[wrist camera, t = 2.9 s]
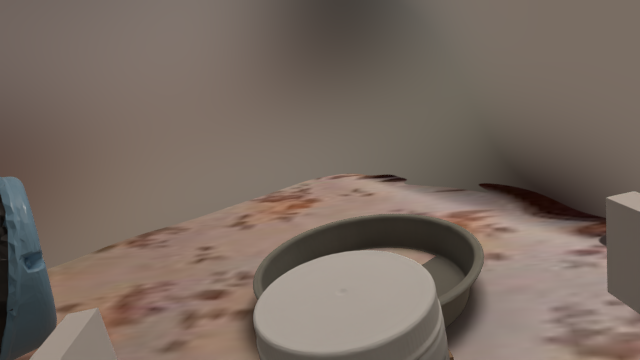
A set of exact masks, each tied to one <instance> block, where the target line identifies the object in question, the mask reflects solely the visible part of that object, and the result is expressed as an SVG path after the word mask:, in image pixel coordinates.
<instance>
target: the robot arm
mask: <svg viewBox="0 0 640 360" xmlns="http://www.w3.org/2000/svg"><path fill="white" fill-rule="evenodd" d="M606 227H607V279H608V292H609V293H610V294H612V295H613V296H615V297H616V298H618V299H619V300H620V301H622V302H623V303H625V304H626V305H628V306H629V307H630V308H632V309H633V310H635V311H636V312H638V313H639V314H640V193H637V192H635V191H634V192H629V193H624V194H620V195H615V196H610V197H606ZM56 323H57V317H56V309H55V304H54V299H53V294H52V290H51V285H50V281H49V277H48V273H47V269H46V266H45V262H44V260H43V257H42V250H41V247H40V242H39V238H38V234H37V229H36V226H35V222H34V218H33V215H32V211H31V208H30V205H29V201H28V198H27V195H26V192H25V189H24V186H23V184H22V182H21V181H20V180H19V179H17V178H16V177H4V178H2V177H0V360H14V359H17V358H19V357H21V356H23V355H25V354H27V353H29V352H31V351H33V350H35V349H37V348H39V349H38V350H37V351H36V352H35V353H34V355H33V356H32V357H31V358H30V359H29V360H117V357H116V354H115V352H114V349H113V346H112V344H111V341H110V338H109V336H108V333H107V330H106V328H105V325H104V322H103V320H102V317H101V314H100V311H99V309H98V308H94V309H90V310H85V311H81V312H76V313H71V314H67V315H66V316H65V318H64V319H63V320H62V321H61V322H60V324H59V325H58V326H57V327H56Z"/></svg>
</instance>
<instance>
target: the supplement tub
mask: <svg viewBox="0 0 640 360" xmlns="http://www.w3.org/2000/svg"><path fill="white" fill-rule="evenodd" d="M253 323H254V328H255V333H256V336H257V339H256V343H257V349H258V353H259V356H260V360H450V357H449V350H448V343H447V336H446V331H445V324H444V318H443V314H442V309H441V305H440V302H439V299H438V297H437V292H436V287H435V283H434V280H433V278H432V276H431V275H430V273H429V272H428V271H427V270H426V269H425V268H424V267H423V266H422V265H420V264H419V263H418V262H416V261H414V260H412V259H410V258H407V257H405V256H402V255H399V254H395V253H390V252H385V251H373V250H362V251H348V252H342V253H337V254H331V255H327V256H324V257H320V258H317V259H314V260H311V261H309V262H306V263H304V264H302V265H299V266H297V267H295V268H293V269H291V270H290V271H288V272H286V273H285V274H283V275H282V276H280V277H279V278H277V279H276V280H275V281H274V282H273V283H272V284H270V285H269V287H268V288H267V289H266V290H265V291H264V292H263V293H262V295H261V296H260V298H259V299H258V301H257V303H256V306H255V309H254V313H253Z"/></svg>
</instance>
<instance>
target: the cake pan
mask: <svg viewBox="0 0 640 360" xmlns="http://www.w3.org/2000/svg"><path fill="white" fill-rule="evenodd" d="M385 247H394V248H409V249H415V250H420V251H424V252H428V253H431V254H433V255H436V257H434V258H432V259H431V260H429V261H428V262H426V263H425V264H423V265H422V266H423V267H424V268H425V269H426V270H427V271H428V272H429V273H430V275H431V276H432V278H433V280H434V283H435V287H436V292H437V297H438V299H439V302H440V305H441V309H442V314H443V318H444V324H445V328H446V327H447V326H449V325H450V324H451V323H452V322H453V321H454V320H455V319H456V318H457V317H458V316H459V315H460V314H461V312H462V311H463V309H464V308H465V306H466V304H467V301H468V298H469V292H470V287H471V285H472V284H473V283H474V281H475V280H476V279H477V277H478V275H479V273H480V271H481V269H482V266H483V263H484V262H483V260H484V254H483V249H482V246H481V244H480V243H479V241H478V240H477V238H476V237H475V236H474V235H473V234H471V233H470V232H469V231H467V230H466V229H464V228H462V227H461V226H458V225H456V224H454V223H451V222H449V221H446V220H442V219H438V218H434V217H428V216H422V215H413V214H379V215H369V216H360V217H354V218H349V219H344V220H340V221H336V222H332V223H329V224H325V225H322V226H319V227H316V228H314V229H311V230H308V231H306V232H304V233H301V234H299V235H297V236H295V237H293V238H291V239H290V240H288V241H286V242H285V243H283V244H282V245H280V246H279V247H277V248H276V249H275V250H273V251H272V252H271V253H270V254H269V255H268V256H267V257H266V258H265V259H264V260H263V261H262V263H261V264H260V265H259V267H258V269H257V271H256V273H255V276H254V280H253V290H254V294H255V296H256V298H257V300H258V299H259V298H260V296H261V295H262V293H263V292H264V291H265V290H266V289H267V288H268V287H269V285H270V284H272V283H273V282H274V281H275V280H276V279H277V278H279V277H280V276H282V275H283V274H285V273H286V272H288V271H290V270H291V269H293V268H295V267H297V266H299V265H302V264H304V263H306V262H309V261H311V260H314V259H317V258H320V257H324V256H327V255H331V254H337V253H342V252H348V251H360V250H363V249H371V248H385Z"/></svg>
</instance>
